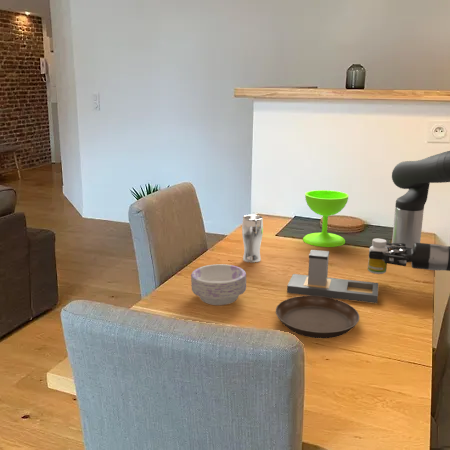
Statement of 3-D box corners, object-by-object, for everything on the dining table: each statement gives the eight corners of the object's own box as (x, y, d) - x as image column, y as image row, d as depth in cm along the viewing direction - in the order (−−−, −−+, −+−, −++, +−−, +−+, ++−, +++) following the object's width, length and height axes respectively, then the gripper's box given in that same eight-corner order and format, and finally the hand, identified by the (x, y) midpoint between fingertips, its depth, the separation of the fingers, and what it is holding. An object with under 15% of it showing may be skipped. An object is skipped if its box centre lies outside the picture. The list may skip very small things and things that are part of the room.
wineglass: (349, 247, 193) (352, 199, 188) (305, 246, 193) (308, 199, 188) (340, 234, 208) (343, 190, 203) (300, 234, 208) (302, 190, 203)
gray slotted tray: (292, 280, 160) (294, 245, 157) (377, 290, 153) (381, 253, 150) (287, 292, 151) (288, 255, 148) (377, 303, 144) (380, 264, 141)
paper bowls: (184, 293, 150) (183, 267, 148) (232, 285, 156) (232, 260, 154) (202, 314, 137) (202, 286, 135) (255, 305, 143) (255, 277, 140)
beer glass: (238, 261, 177) (239, 218, 173) (245, 255, 183) (246, 213, 179) (258, 264, 174) (259, 220, 170) (264, 258, 180) (265, 215, 176)
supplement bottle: (387, 275, 154) (389, 243, 152) (368, 273, 155) (370, 242, 153) (385, 268, 159) (388, 238, 157) (367, 267, 160) (369, 237, 158)
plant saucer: (361, 347, 121) (362, 334, 120) (271, 339, 124) (272, 326, 123) (355, 310, 140) (356, 298, 140) (278, 304, 144) (279, 293, 143)
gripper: (429, 237, 157) (371, 232, 162) (433, 252, 144) (369, 246, 149) (426, 260, 159) (369, 255, 164) (430, 277, 146) (367, 271, 151)
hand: (369, 251), depth 156 cm, fingers closed on supplement bottle, 5 cm apart
